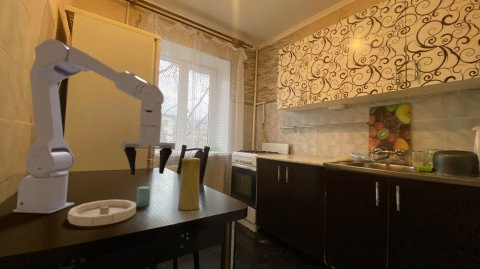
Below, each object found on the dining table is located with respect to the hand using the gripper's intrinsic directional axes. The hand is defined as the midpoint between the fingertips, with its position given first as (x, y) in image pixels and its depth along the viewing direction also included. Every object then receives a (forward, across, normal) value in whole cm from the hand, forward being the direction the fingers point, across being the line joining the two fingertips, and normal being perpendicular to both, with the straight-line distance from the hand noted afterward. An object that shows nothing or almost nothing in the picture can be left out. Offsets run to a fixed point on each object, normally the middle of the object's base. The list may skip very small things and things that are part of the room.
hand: (147, 173), depth 61 cm
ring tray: (+10, -10, -2) cm, 14 cm away
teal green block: (+10, 0, +3) cm, 10 cm away
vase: (+10, +11, -6) cm, 16 cm away
